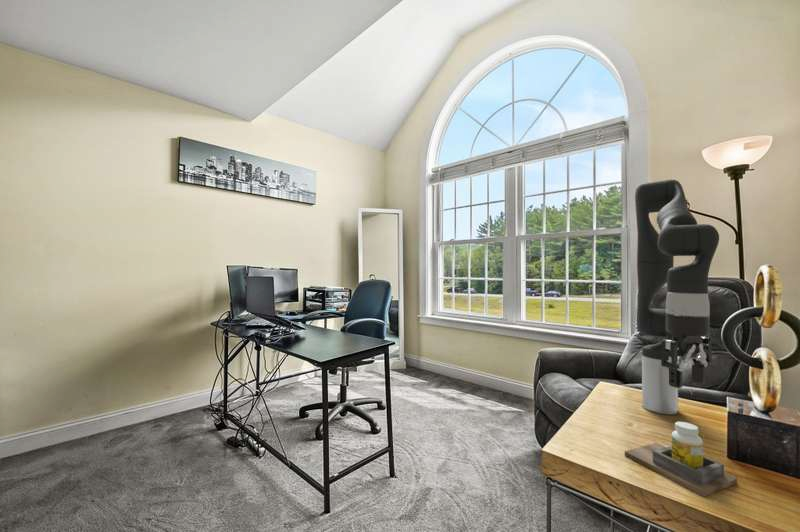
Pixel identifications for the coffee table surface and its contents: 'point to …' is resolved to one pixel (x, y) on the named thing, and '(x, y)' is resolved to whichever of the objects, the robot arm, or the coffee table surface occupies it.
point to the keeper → (683, 469)
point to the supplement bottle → (687, 445)
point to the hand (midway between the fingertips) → (687, 384)
